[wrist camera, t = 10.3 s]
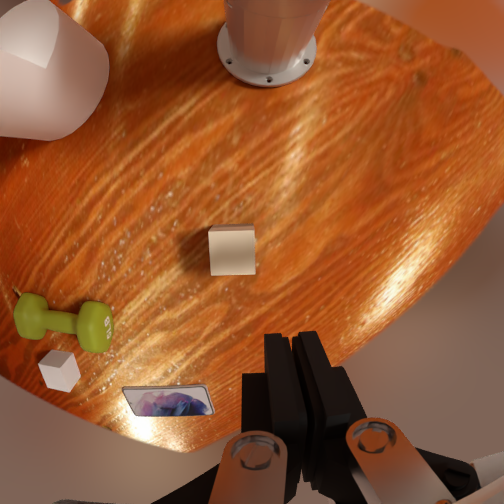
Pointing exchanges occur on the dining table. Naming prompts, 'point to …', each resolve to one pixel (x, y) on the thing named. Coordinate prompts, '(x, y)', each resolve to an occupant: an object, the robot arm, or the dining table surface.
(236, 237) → the maple block
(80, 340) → the dumbbell
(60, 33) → the cylinder
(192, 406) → the smartphone
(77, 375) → the grey block
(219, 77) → the dining table surface
